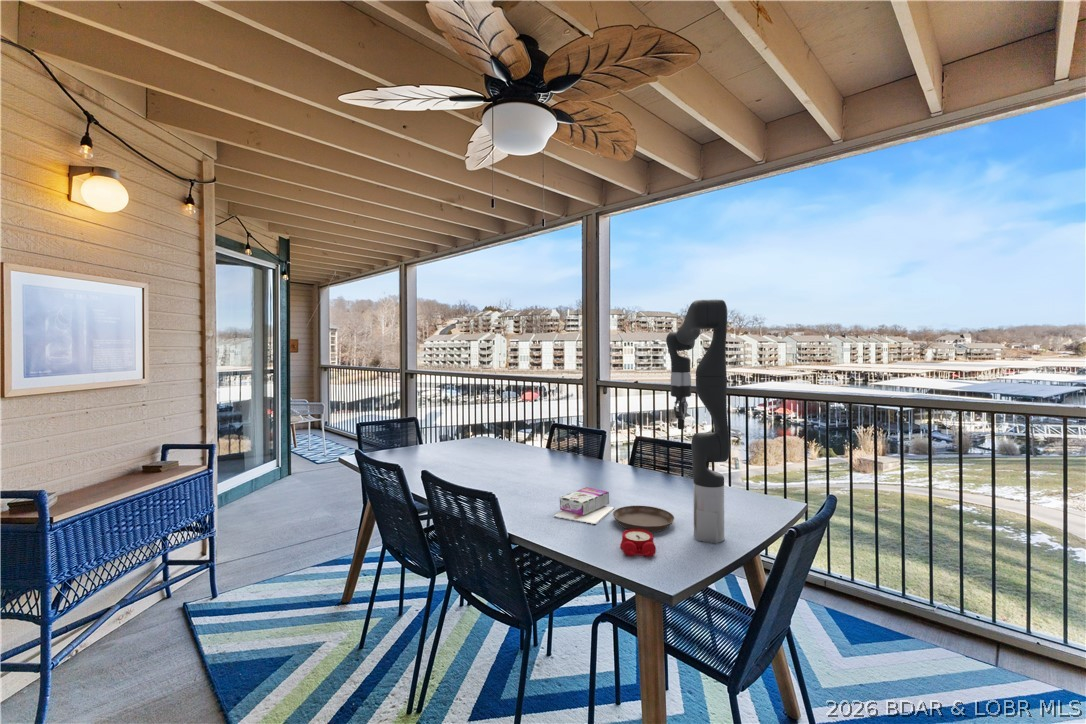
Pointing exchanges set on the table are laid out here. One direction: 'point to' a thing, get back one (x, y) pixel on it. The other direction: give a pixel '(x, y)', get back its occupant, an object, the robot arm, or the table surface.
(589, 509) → the candy bar box
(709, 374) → the robot arm
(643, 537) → the alarm clock
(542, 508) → the table surface
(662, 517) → the plant saucer
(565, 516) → the card
